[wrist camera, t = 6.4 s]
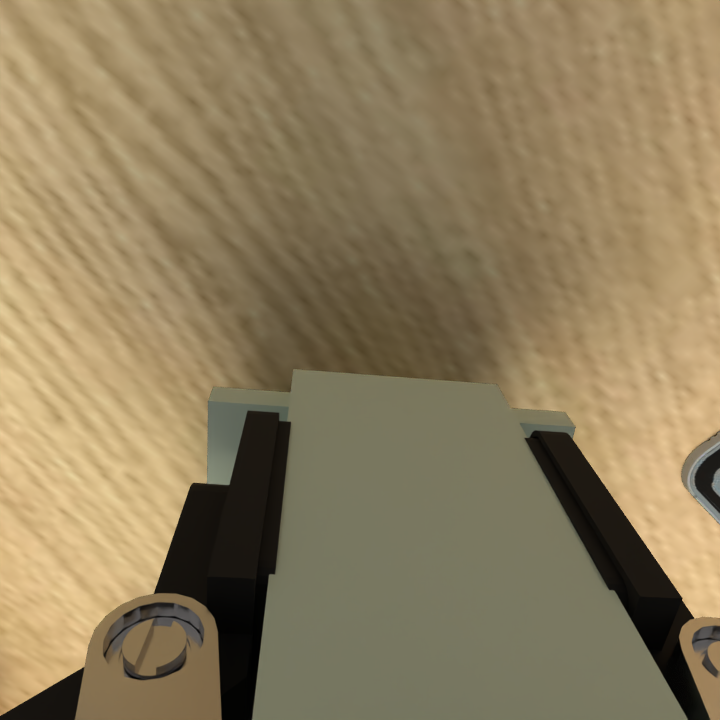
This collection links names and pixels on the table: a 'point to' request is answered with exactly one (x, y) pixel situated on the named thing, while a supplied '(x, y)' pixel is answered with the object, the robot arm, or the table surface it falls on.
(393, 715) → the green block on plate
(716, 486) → the smartphone
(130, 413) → the table surface
